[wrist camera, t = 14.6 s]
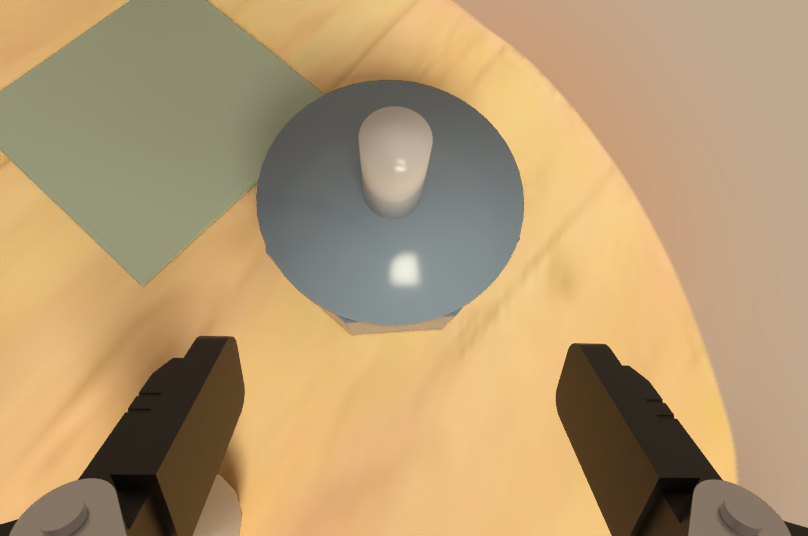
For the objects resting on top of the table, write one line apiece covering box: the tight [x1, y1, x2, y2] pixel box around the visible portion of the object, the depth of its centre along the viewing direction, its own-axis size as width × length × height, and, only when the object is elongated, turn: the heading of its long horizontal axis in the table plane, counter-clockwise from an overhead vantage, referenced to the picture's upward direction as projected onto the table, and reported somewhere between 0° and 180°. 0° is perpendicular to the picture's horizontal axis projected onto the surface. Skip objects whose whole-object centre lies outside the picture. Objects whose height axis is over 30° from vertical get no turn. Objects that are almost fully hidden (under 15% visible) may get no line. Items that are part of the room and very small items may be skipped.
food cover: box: [256, 80, 524, 335], centre depth 27 cm, size 16×16×12 cm
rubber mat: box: [0, 0, 325, 286], centre depth 34 cm, size 20×20×1 cm
